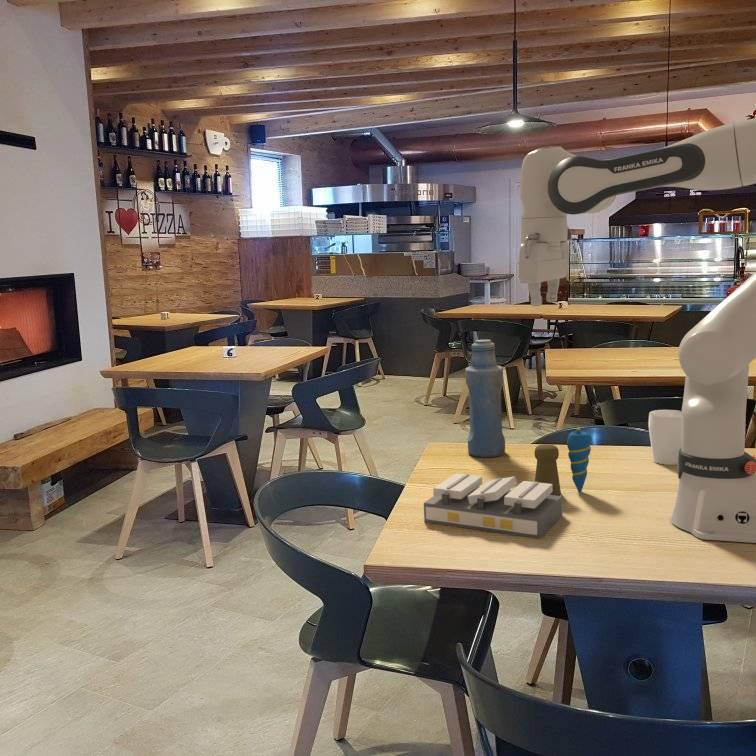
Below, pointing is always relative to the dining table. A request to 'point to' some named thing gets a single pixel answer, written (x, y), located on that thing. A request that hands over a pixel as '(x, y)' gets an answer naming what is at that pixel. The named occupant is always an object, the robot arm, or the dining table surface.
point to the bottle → (485, 402)
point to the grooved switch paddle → (458, 485)
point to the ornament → (579, 455)
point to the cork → (547, 466)
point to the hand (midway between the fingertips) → (544, 303)
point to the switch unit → (494, 514)
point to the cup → (665, 435)
